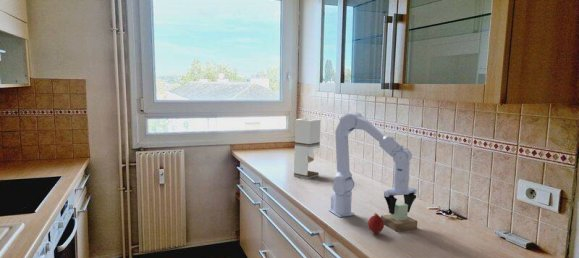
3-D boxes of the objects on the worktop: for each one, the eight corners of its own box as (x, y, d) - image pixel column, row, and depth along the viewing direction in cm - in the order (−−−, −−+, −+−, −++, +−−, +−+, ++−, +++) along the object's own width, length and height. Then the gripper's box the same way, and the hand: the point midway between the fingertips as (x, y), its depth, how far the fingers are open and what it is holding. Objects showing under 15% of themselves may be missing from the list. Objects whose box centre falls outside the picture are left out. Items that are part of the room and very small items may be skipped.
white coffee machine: (308, 179, 224) (310, 120, 221) (293, 176, 231) (295, 119, 227) (318, 175, 234) (320, 119, 230) (304, 173, 240) (306, 118, 236)
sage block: (391, 217, 152) (391, 202, 151) (399, 216, 154) (400, 201, 153) (398, 220, 148) (398, 206, 147) (407, 219, 150) (407, 204, 149)
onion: (381, 230, 145) (382, 210, 144) (385, 236, 139) (386, 215, 139) (366, 230, 145) (367, 210, 144) (369, 236, 139) (370, 215, 138)
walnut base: (380, 222, 154) (380, 215, 154) (400, 220, 158) (400, 213, 158) (396, 231, 145) (396, 224, 144) (417, 228, 149) (417, 221, 148)
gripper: (392, 183, 143) (390, 217, 144) (422, 180, 148) (420, 213, 150) (381, 178, 149) (379, 212, 151) (410, 176, 155) (408, 208, 156)
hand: (399, 212), depth 151 cm, fingers open, 7 cm apart
